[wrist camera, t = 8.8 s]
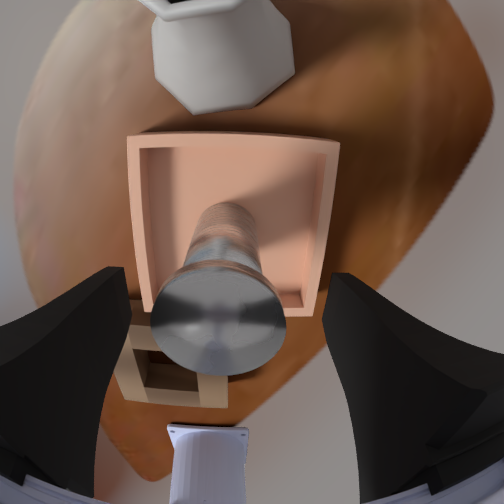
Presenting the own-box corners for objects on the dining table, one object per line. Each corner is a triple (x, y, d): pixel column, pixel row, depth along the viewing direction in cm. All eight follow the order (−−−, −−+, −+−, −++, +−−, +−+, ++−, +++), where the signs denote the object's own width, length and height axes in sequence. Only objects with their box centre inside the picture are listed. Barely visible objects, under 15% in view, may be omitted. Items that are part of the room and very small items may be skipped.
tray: (305, 296, 19) (312, 316, 17) (152, 292, 18) (144, 311, 16) (327, 138, 14) (340, 143, 13) (140, 132, 14) (127, 136, 12)
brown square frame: (227, 383, 22) (227, 408, 20) (131, 376, 22) (124, 399, 20) (228, 304, 19) (227, 330, 16) (109, 297, 18) (96, 321, 16)
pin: (262, 267, 17) (277, 376, 10) (187, 264, 17) (159, 371, 10) (269, 195, 15) (295, 276, 8) (186, 191, 15) (141, 270, 8)
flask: (259, -27, 10) (287, -149, 1) (316, 84, 13) (434, 57, 4) (131, 27, 11) (17, -42, 2) (185, 138, 14) (104, 185, 5)
